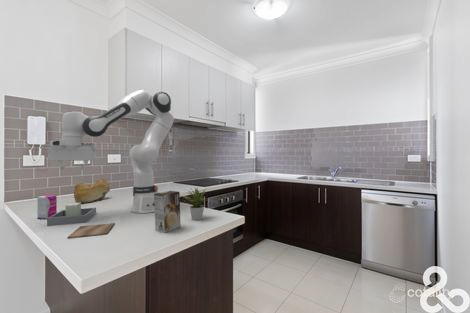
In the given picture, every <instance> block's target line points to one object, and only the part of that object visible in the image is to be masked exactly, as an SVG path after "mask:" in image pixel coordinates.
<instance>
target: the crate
mask: <svg viewBox="0 0 470 313" xmlns="http://www.w3.org/2000/svg"><path fill="white" fill-rule="evenodd" d="M96 215H97V207H89V208H87V207H86V208H81V215H77V216H66V209H61V210H60V211H57V213H56V214H54V215H52V216H50V217H49V218H47V219H46V226H47V227H49V226H59V225H69V224H70V225H71V224H73V225H74V224H81V223H82V224H84V223H87V222H89V221H90V220H91V219H92V218H94V216H96Z"/></svg>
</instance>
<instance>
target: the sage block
mask: <svg viewBox="0 0 470 313" xmlns="http://www.w3.org/2000/svg"><path fill="white" fill-rule="evenodd" d="M81 209H82V203H76V202H71V203H67V204H66V205H65V210H66V216H77V215H81Z"/></svg>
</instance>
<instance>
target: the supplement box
mask: <svg viewBox="0 0 470 313" xmlns="http://www.w3.org/2000/svg"><path fill="white" fill-rule="evenodd" d="M57 198H58V197H57V195H51V194H46V195H42V196H40V195H39V196H37V210H36V211H37V219H38V220H47V218H49V217H50V216H52V215H54V214H56V213H58V211H57V206H58V205H57Z"/></svg>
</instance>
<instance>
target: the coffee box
mask: <svg viewBox="0 0 470 313" xmlns="http://www.w3.org/2000/svg"><path fill="white" fill-rule="evenodd" d="M180 193H181V192H180V191H175V190H167V191H163V192H159V193H156V194H154V202H155V212H154V223H155V224H154V228H155V229H154V231H156V232H160V233H164V234H166V233H168V232H171V231H173V230H176V229H178V228H180V227H181V203H180V202H181V200H180V198H181V197H180V196H181V194H180Z"/></svg>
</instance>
